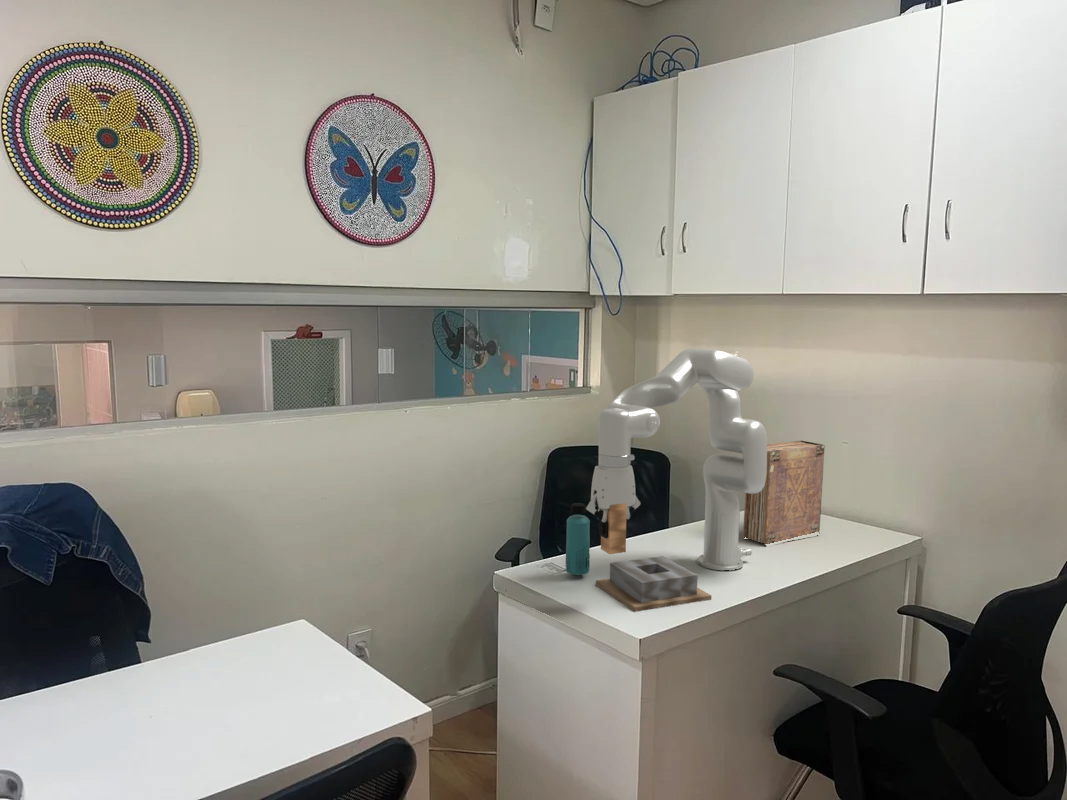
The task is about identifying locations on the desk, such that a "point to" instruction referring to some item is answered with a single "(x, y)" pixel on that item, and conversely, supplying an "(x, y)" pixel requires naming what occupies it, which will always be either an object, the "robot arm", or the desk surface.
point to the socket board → (652, 583)
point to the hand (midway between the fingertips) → (613, 534)
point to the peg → (615, 530)
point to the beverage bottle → (578, 541)
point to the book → (787, 494)
